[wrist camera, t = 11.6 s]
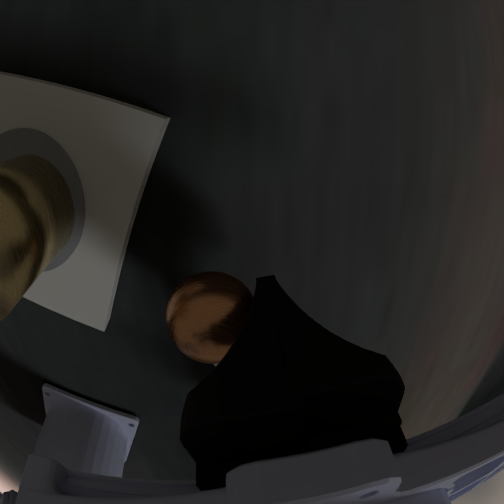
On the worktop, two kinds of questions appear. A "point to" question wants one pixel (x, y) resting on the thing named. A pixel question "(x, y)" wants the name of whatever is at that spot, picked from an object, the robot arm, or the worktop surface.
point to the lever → (207, 315)
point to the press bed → (83, 183)
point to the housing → (30, 223)
